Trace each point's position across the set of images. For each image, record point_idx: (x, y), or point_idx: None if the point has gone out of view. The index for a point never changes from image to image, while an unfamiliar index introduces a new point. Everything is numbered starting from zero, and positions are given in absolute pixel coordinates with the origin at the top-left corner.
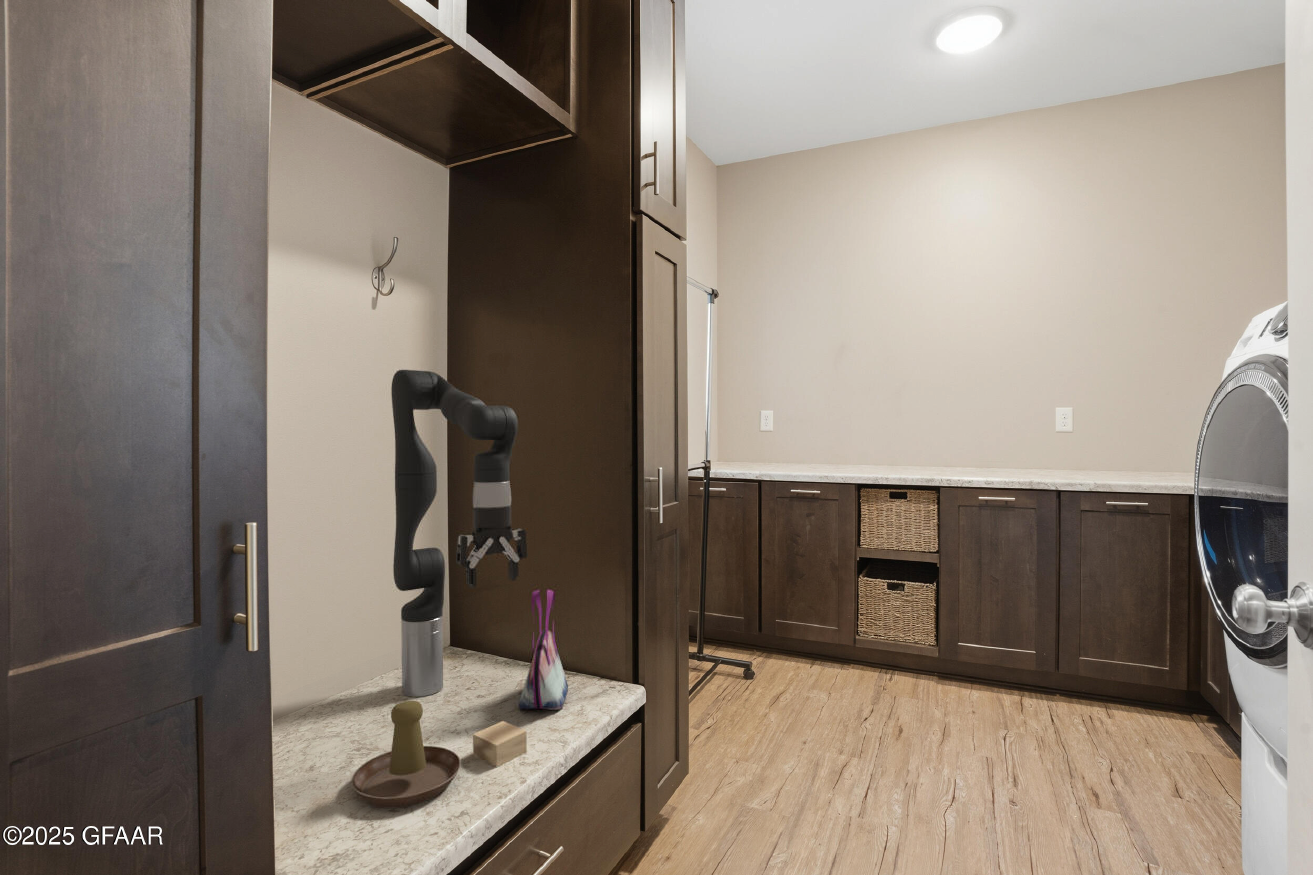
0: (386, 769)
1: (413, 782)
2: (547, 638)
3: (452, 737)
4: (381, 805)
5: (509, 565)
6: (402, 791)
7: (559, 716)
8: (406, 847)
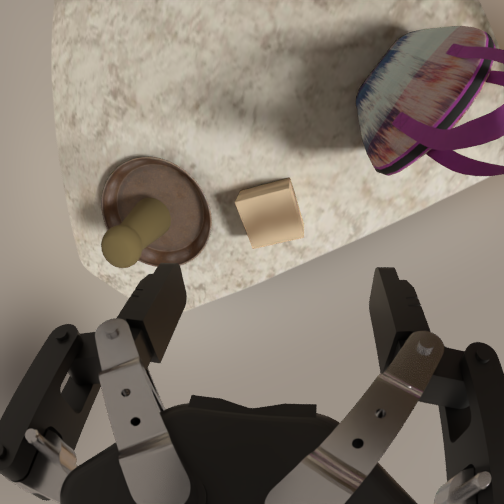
0: (139, 167)
1: None
2: (447, 152)
3: (230, 122)
4: None
5: (388, 327)
6: None
7: None
8: None
